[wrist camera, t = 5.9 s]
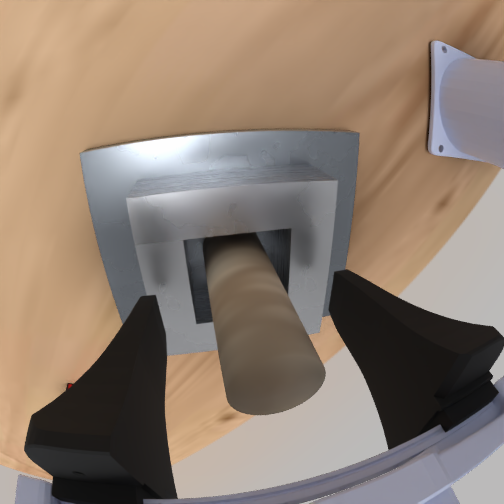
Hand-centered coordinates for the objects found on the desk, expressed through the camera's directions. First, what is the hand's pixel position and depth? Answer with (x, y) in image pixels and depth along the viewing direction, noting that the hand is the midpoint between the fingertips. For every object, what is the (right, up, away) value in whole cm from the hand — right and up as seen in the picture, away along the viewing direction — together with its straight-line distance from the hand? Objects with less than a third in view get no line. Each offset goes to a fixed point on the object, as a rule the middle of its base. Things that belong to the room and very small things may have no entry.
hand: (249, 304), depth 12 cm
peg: (-1, +2, +4) cm, 5 cm away
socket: (-1, +3, +5) cm, 6 cm away
